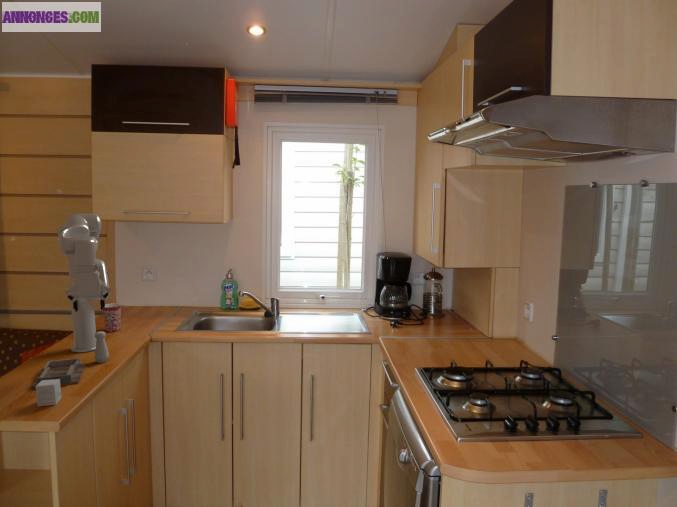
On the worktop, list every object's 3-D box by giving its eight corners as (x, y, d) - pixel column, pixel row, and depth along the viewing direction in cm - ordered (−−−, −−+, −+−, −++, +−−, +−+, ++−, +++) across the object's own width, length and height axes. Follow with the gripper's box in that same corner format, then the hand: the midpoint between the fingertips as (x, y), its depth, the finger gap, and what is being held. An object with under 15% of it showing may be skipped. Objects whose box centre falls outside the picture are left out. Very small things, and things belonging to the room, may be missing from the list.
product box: (62, 398, 193) (60, 378, 192) (56, 405, 187) (54, 384, 186) (43, 399, 192) (41, 379, 191) (36, 406, 186) (35, 386, 185)
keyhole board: (43, 369, 223) (43, 367, 223) (85, 365, 228) (85, 363, 228) (31, 388, 203) (31, 386, 202) (78, 383, 208) (78, 380, 207)
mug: (119, 332, 279) (117, 306, 277) (101, 333, 279) (99, 307, 277) (127, 326, 292) (125, 301, 290) (110, 326, 291) (108, 301, 289)
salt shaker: (105, 358, 237) (103, 329, 235) (112, 361, 233) (109, 331, 232) (92, 362, 232) (89, 332, 231) (98, 364, 229) (96, 334, 227)
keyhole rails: (48, 366, 224) (48, 361, 224) (80, 363, 228) (80, 357, 227) (37, 385, 203) (36, 378, 203) (72, 381, 207) (72, 375, 206)
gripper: (110, 266, 227) (113, 306, 229) (65, 268, 222) (68, 309, 224) (108, 269, 220) (111, 310, 222) (61, 271, 215) (64, 313, 217)
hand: (89, 309), depth 223 cm, fingers open, 9 cm apart
